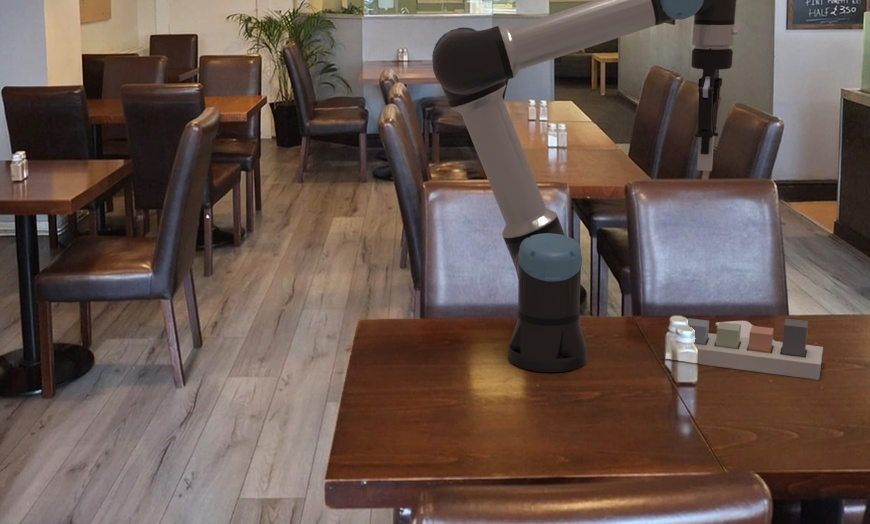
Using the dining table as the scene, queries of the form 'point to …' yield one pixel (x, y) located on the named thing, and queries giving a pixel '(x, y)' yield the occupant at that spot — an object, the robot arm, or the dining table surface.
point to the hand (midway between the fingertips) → (704, 169)
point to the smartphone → (742, 327)
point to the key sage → (728, 335)
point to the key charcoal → (794, 337)
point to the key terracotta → (761, 339)
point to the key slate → (700, 330)
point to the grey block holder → (761, 359)
